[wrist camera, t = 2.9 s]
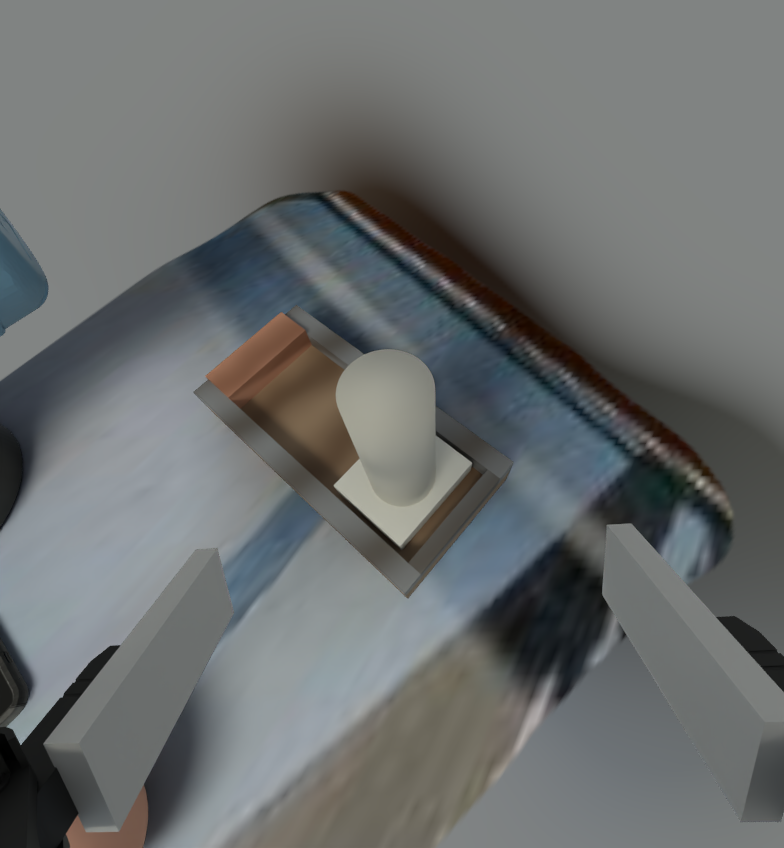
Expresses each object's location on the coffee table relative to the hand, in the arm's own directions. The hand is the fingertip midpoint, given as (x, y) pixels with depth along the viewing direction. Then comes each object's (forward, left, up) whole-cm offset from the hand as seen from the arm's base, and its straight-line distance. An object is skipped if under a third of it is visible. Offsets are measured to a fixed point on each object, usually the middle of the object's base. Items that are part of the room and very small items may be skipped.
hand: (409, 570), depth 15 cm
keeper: (-6, +5, -13) cm, 16 cm away
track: (-12, +5, -16) cm, 20 cm away
